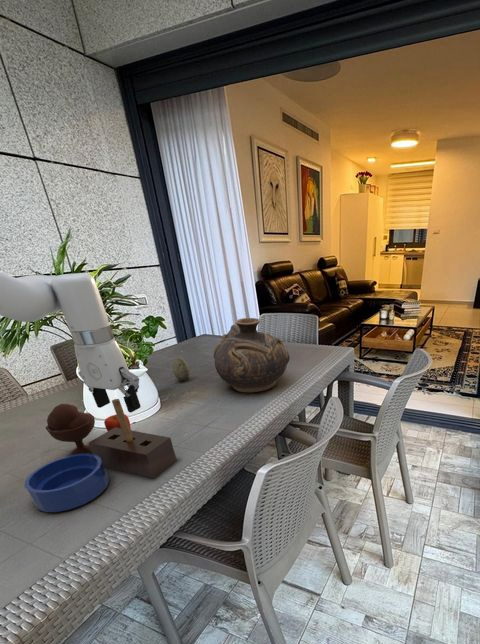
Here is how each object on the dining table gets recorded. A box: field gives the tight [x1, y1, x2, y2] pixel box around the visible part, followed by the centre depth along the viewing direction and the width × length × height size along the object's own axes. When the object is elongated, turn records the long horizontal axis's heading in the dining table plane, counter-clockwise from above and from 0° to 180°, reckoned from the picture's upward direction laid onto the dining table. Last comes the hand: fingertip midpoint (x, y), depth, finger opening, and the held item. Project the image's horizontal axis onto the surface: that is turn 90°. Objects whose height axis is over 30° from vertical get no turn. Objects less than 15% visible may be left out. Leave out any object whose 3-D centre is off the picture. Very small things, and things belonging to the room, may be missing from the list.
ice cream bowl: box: [45, 403, 96, 455], centre depth 94 cm, size 11×11×15 cm
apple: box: [103, 413, 131, 432], centre depth 101 cm, size 6×6×8 cm
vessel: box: [213, 317, 291, 393], centre depth 131 cm, size 27×28×25 cm
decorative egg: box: [172, 356, 191, 382], centre depth 141 cm, size 6×6×10 cm
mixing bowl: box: [24, 453, 110, 513], centre depth 80 cm, size 15×15×6 cm
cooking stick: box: [111, 398, 133, 443], centre depth 87 cm, size 2×2×18 cm
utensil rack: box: [88, 427, 177, 479], centre depth 90 cm, size 19×8×7 cm, turn 70°
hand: (119, 407), depth 84 cm, fingers open, 9 cm apart
